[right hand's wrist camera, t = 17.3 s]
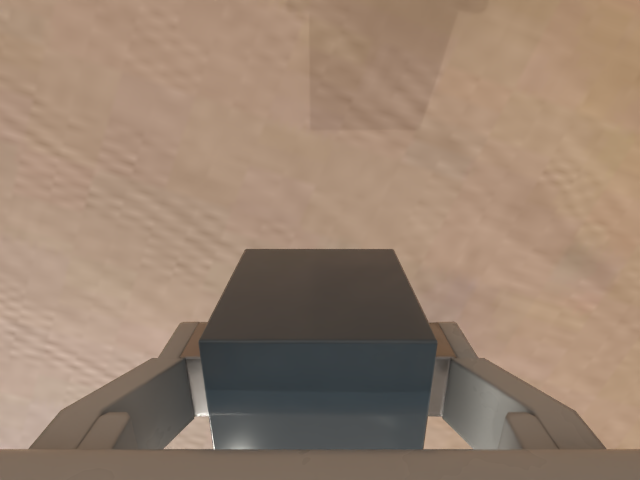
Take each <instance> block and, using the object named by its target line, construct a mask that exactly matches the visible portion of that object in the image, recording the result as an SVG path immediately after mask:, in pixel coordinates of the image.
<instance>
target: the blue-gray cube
mask: <svg viewBox="0 0 640 480" xmlns="http://www.w3.org/2000/svg"><path fill="white" fill-rule="evenodd" d="M198 344H199V351H200V358H201V365H202V372H203V379H204V386H205V393H206V401H207V408H208V415H209V422H210V429H211V436H212V443H213V449H423V448H424V441H425V433H426V426H427V418H428V411H429V404H430V396H431V389H432V382H433V374H434V367H435V360H436V352H437V345H438V341H437V339H436V337H435V335H434V333H433V330H432V328H431V326H430V324H429V322H428V320H427V318H426V316H425V314H424V312H423V310H422V308H421V306H420V303H419V301H418V299H417V297H416V295H415V293H414V291H413V289H412V287H411V285H410V283H409V281H408V278H407V276H406V274H405V272H404V270H403V268H402V266H401V264H400V262H399V260H398V258H397V256H396V254H395V251H394V250H393V249H246V250H245V251H244V253H243V255H242V257H241V258H240V260H239V262H238V264H237V266H236V268H235V270H234V272H233V274H232V276H231V278H230V280H229V282H228V284H227V286H226V288H225V290H224V292H223V294H222V295H221V297H220V299H219V301H218V303H217V305H216V307H215V309H214V311H213V313H212V315H211V317H210V319H209V321H208V323H207V325H206V327H205V329H204V330H203V332H202V334H201V336H200V338H199V341H198Z"/></svg>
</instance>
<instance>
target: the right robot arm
mask: <svg viewBox="0 0 640 480" xmlns="http://www.w3.org/2000/svg"><path fill="white" fill-rule="evenodd" d="M207 323H208V322H182V323H180V324H179V326H178V327H177V329H176V330H175V332H174V333H173V335H172V337H171V338H170V340H169V341H168V343H167V344H166V346H165V348H164V349H163V351H162V352H161V354H160V355H159V357H158V358H152V359H150V360H148V361H146V362H145V363H143V364H141V365H139V366H138V367H136V368H134V369H132V370H131V371H129V372H127V373H125V374H124V375H122V376H120V377H119V378H117V379H115V380H113V381H112V382H110V383H108V384H106V385H105V386H103V387H101V388H99V389H98V390H96V391H94V392H92V393H91V394H89V395H87V396H85V397H84V398H82V399H80V400H78V401H77V402H75V403H73V404H71V405H70V406H68V407H66V408H64V409H63V410H61V411H60V412H59V413H58V414H57V416H56V417H55V418H54V419H53V420H52V422H51V423H50V424H49V425H48V426H47V427H46V429H45V430H44V431H43V432H42V433H41V435H40V436H39V437H38V438H37V439H36V441H35V442H34V443H33V444H32V445H31V446H30V448H29V449H0V480H640V449H606V448H605V446H604V445H603V444H602V443H601V442H600V440H599V439H598V438H597V437H596V436H595V434H594V433H593V432H592V431H591V429H590V428H589V427H588V426H587V425H586V423H585V422H584V421H583V420H582V418H581V417H580V416H579V415H578V414H577V412H576V411H574V410H573V409H571V408H569V407H567V406H566V405H564V404H562V403H561V402H559V401H557V400H555V399H554V398H552V397H550V396H548V395H547V394H545V393H543V392H542V391H540V390H538V389H536V388H535V387H533V386H531V385H530V384H528V383H526V382H524V381H523V380H521V379H519V378H517V377H516V376H514V375H512V374H511V373H509V372H507V371H505V370H504V369H502V368H500V367H498V366H497V365H495V364H493V363H492V362H490V361H488V360H486V359H485V358H478V356H477V355H476V353H475V352H474V350H473V348H472V347H471V345H470V344H469V342H468V341H467V339H466V337H465V336H464V334H463V333H462V331H461V329H460V328H459V326H458V325H457V323H455V322H436V323H429V324H430V326H431V328H432V330H433V333H434V335H435V337H436V339H437V341H438V345H437V352H436V360H435V367H434V374H433V382H432V389H431V396H430V404H429V411H428V416H440V417H442V418H443V419H444V420H445V421H446V422H447V423H448V424H449V425H450V426H451V427H452V428H453V429H454V430H455V431H456V432H457V433H458V434H459V435H460V436H461V437H462V438H463V439H464V440H465V441H466V442H467V443H468V444H469V445H470V446H471V447H472V448H473V449H163V448H165V447H166V446H167V445H168V444H169V443H170V442H171V441H172V440H173V439H174V438H175V437H176V436H177V435H178V434H179V433H180V432H181V431H182V430H183V429H184V428H185V427H186V426H187V425H188V424H189V423H190V422H191V421H192V420H193V419H194V417H196V416H209V415H208V408H207V401H206V393H205V386H204V379H203V372H202V365H201V358H200V351H199V344H198V341H199V338H200V336H201V334H202V332H203V330H204V329H205V327H206V325H207Z"/></svg>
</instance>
